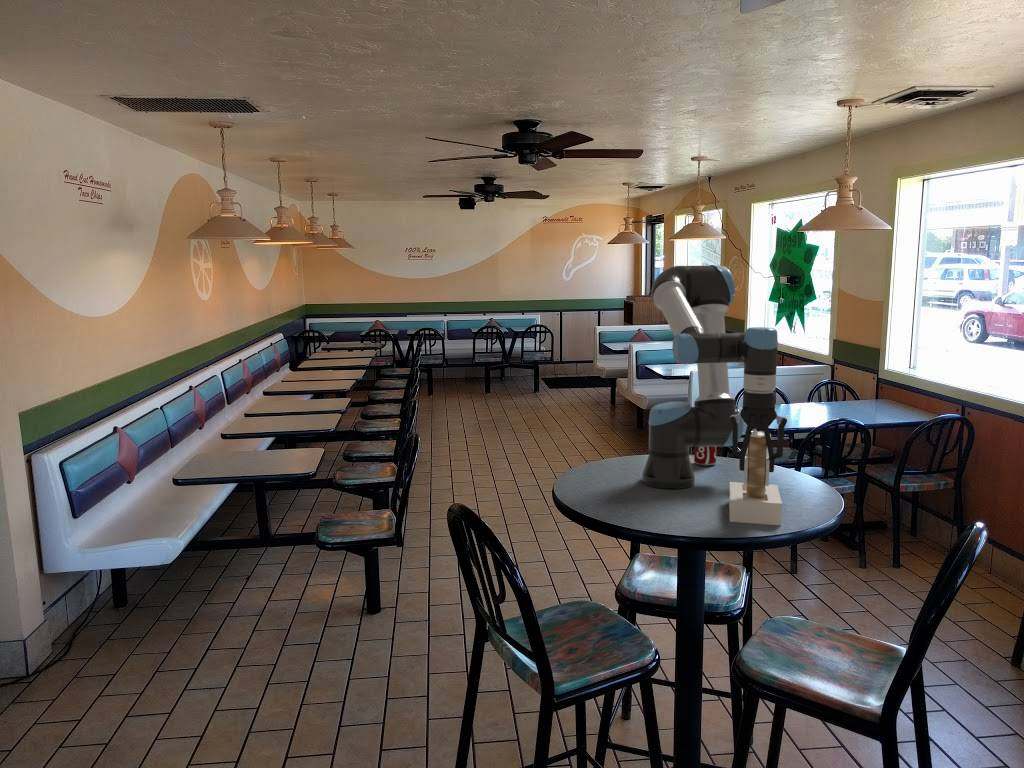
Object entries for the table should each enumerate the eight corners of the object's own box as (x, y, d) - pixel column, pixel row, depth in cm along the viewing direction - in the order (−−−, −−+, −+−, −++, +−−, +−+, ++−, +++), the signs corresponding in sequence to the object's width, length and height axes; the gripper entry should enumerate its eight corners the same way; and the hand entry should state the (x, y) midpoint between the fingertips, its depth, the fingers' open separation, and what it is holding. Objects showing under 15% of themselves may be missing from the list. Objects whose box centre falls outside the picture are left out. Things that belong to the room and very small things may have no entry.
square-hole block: (729, 521, 186) (730, 500, 186) (729, 501, 202) (729, 481, 202) (781, 525, 183) (782, 503, 182) (776, 505, 199) (777, 484, 198)
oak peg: (746, 497, 186) (748, 438, 184) (746, 493, 191) (748, 434, 189) (765, 499, 185) (767, 439, 183) (764, 494, 190) (766, 435, 187)
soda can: (692, 461, 245) (693, 425, 244) (713, 461, 245) (714, 425, 243) (696, 466, 239) (697, 429, 237) (718, 466, 239) (719, 429, 237)
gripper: (722, 392, 183) (719, 485, 186) (798, 394, 178) (794, 490, 182) (722, 387, 190) (719, 478, 193) (795, 389, 186) (791, 482, 189)
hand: (755, 483), depth 188 cm, fingers closed on oak peg, 4 cm apart
